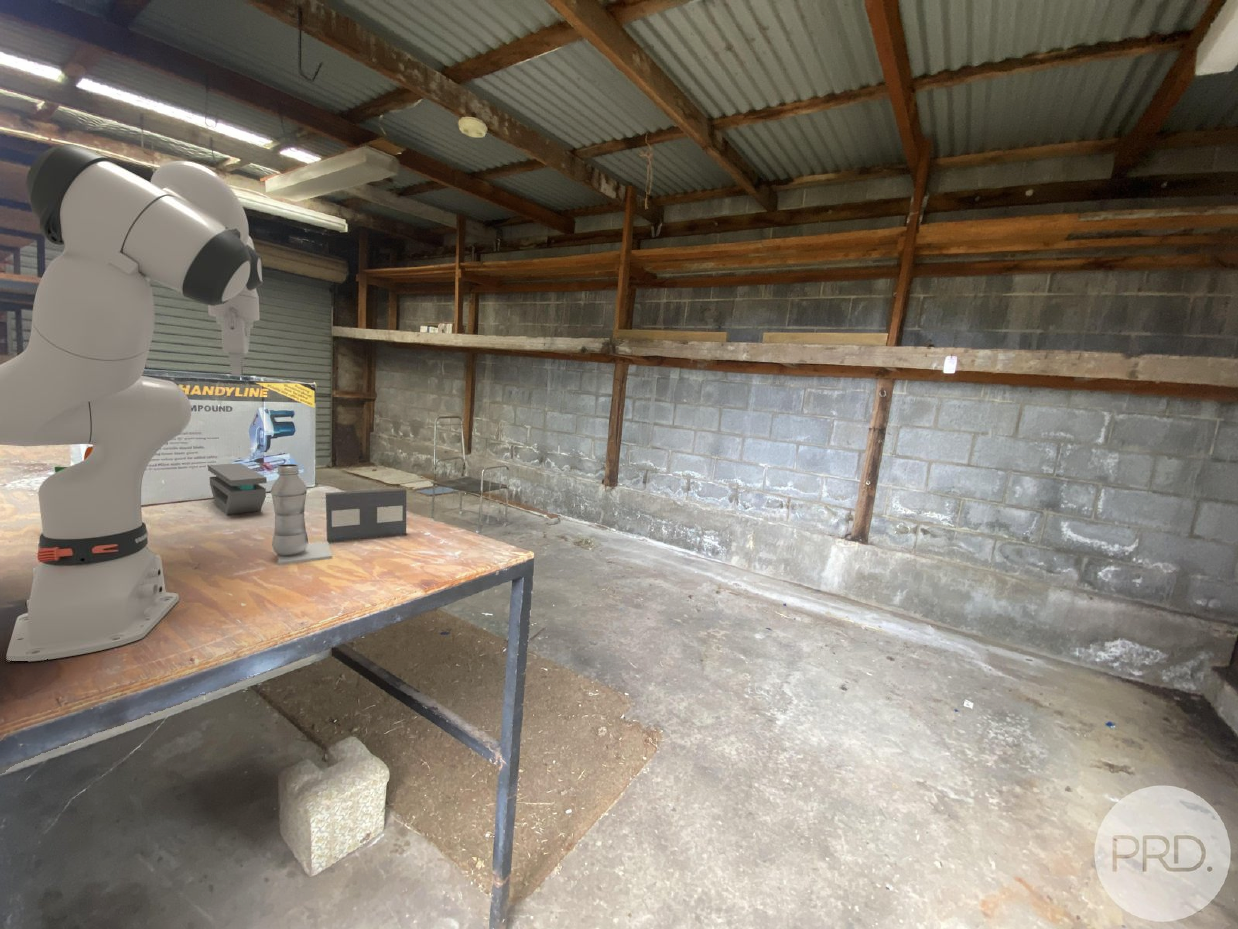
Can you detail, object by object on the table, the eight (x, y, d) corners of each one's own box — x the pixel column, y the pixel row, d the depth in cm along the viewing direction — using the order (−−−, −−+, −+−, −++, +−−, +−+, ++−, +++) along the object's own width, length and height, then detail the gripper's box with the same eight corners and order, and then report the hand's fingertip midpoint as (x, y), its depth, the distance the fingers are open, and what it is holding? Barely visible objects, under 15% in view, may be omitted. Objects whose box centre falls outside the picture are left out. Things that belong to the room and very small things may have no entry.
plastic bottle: (275, 550, 113) (272, 462, 110) (310, 547, 116) (308, 462, 112) (269, 559, 107) (265, 468, 104) (306, 557, 110) (303, 468, 107)
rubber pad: (332, 558, 112) (332, 555, 112) (278, 564, 106) (278, 562, 106) (327, 543, 121) (327, 541, 121) (277, 548, 115) (277, 546, 115)
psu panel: (406, 534, 131) (406, 490, 129) (327, 543, 121) (326, 495, 119) (404, 532, 133) (404, 488, 131) (326, 540, 123) (325, 492, 121)
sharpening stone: (210, 501, 148) (207, 465, 147) (242, 497, 154) (240, 463, 153) (233, 520, 133) (231, 480, 131) (268, 515, 139) (266, 477, 137)
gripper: (250, 308, 102) (253, 376, 104) (253, 315, 118) (256, 374, 121) (210, 303, 98) (215, 374, 100) (219, 311, 115) (223, 372, 117)
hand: (237, 374), depth 111 cm, fingers open, 8 cm apart
